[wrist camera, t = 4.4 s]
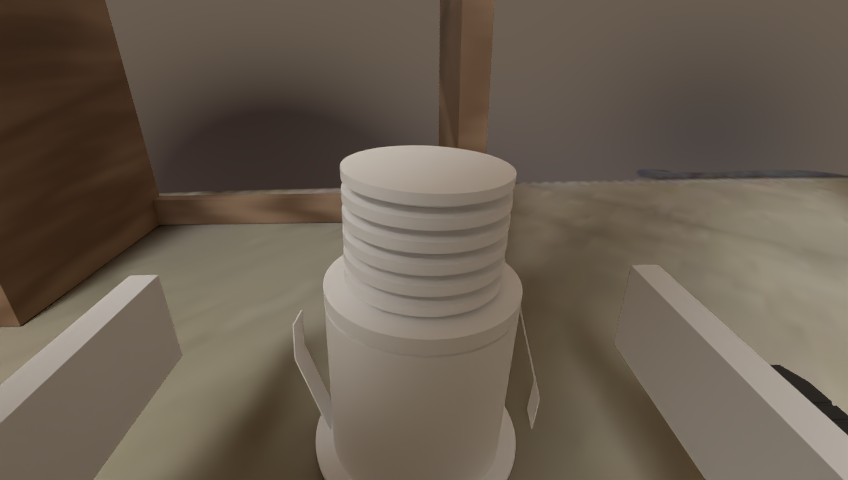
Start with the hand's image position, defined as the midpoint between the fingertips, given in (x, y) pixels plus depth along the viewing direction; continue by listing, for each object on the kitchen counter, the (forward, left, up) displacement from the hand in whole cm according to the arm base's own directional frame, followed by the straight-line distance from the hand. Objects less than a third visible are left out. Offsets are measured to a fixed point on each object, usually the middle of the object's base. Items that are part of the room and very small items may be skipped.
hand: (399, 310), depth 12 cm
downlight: (-1, -1, -6) cm, 6 cm away
